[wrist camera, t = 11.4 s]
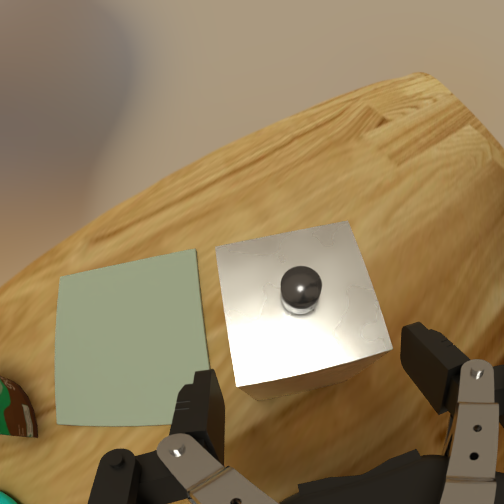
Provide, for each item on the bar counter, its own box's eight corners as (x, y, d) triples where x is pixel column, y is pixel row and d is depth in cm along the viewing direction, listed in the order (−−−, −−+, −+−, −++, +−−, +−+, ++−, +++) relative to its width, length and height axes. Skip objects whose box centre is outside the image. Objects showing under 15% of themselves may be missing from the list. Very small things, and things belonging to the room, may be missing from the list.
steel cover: (324, 300, 24) (351, 205, 14) (346, 380, 21) (402, 341, 11) (242, 318, 24) (209, 232, 14) (257, 401, 21) (232, 383, 10)
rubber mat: (196, 250, 27) (195, 248, 27) (218, 419, 20) (217, 419, 20) (62, 278, 27) (60, 276, 27) (59, 424, 20) (57, 423, 20)
